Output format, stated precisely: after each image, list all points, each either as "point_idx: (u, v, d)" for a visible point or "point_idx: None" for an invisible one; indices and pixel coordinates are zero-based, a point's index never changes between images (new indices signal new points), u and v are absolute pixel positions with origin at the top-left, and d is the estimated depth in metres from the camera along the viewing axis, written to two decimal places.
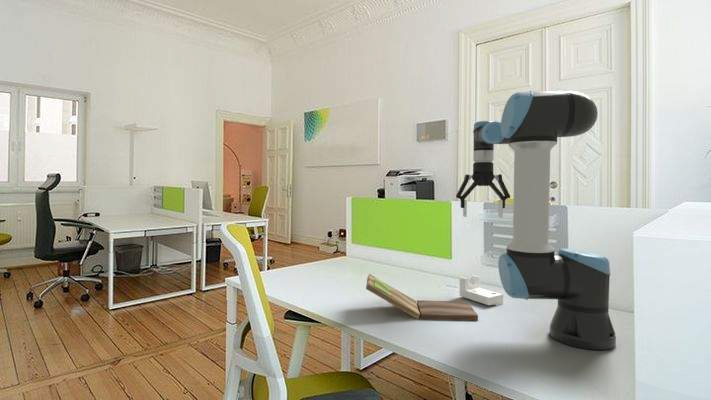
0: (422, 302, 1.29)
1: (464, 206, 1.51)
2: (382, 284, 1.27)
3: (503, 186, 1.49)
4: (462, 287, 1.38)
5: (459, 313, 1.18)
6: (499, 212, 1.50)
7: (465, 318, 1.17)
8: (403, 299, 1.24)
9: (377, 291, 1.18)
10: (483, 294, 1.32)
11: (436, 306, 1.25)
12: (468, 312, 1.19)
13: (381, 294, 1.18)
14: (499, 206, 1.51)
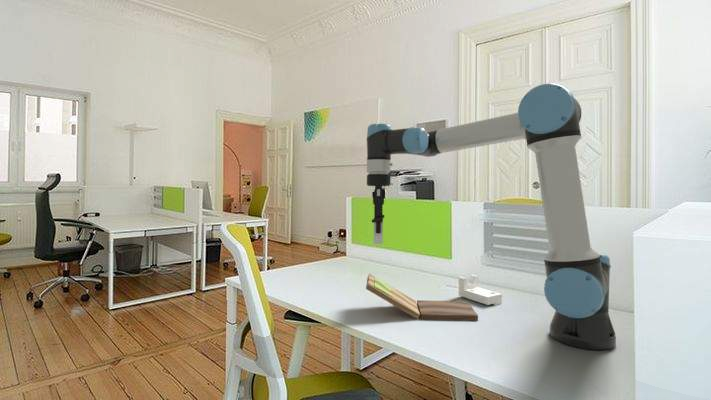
0: (422, 302, 1.29)
1: None
2: (382, 284, 1.27)
3: None
4: (461, 286, 1.39)
5: (459, 313, 1.18)
6: None
7: (465, 318, 1.17)
8: (403, 299, 1.24)
9: (377, 291, 1.18)
10: (482, 294, 1.32)
11: (436, 306, 1.25)
12: (468, 312, 1.19)
13: (381, 294, 1.18)
14: None
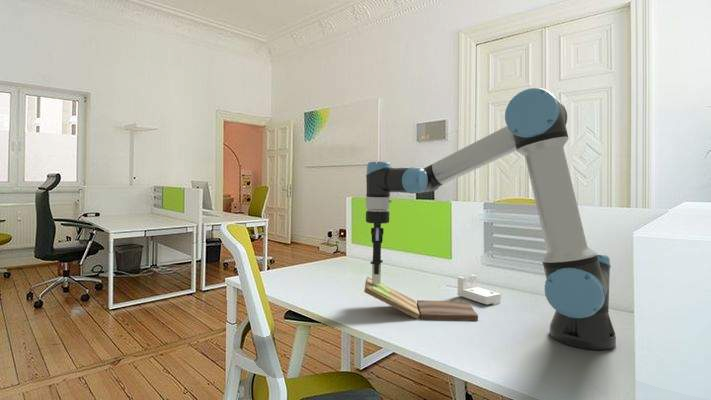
0: (422, 302, 1.29)
1: None
2: (381, 286, 1.27)
3: (373, 248, 1.20)
4: (460, 286, 1.39)
5: (459, 313, 1.18)
6: None
7: (465, 318, 1.17)
8: (402, 300, 1.24)
9: (375, 293, 1.18)
10: (480, 294, 1.33)
11: (436, 306, 1.25)
12: (468, 312, 1.19)
13: (380, 296, 1.18)
14: None
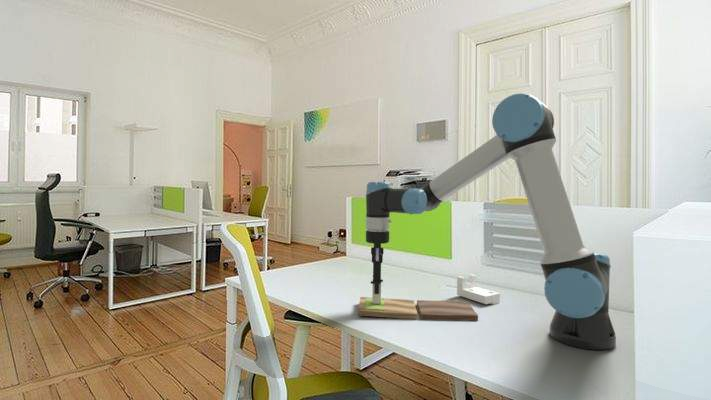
0: (422, 302, 1.29)
1: None
2: None
3: (373, 268, 1.21)
4: (459, 286, 1.40)
5: (459, 313, 1.18)
6: None
7: (465, 318, 1.17)
8: (399, 306, 1.24)
9: (369, 312, 1.18)
10: (480, 293, 1.33)
11: (436, 306, 1.25)
12: (468, 312, 1.19)
13: (374, 313, 1.18)
14: None
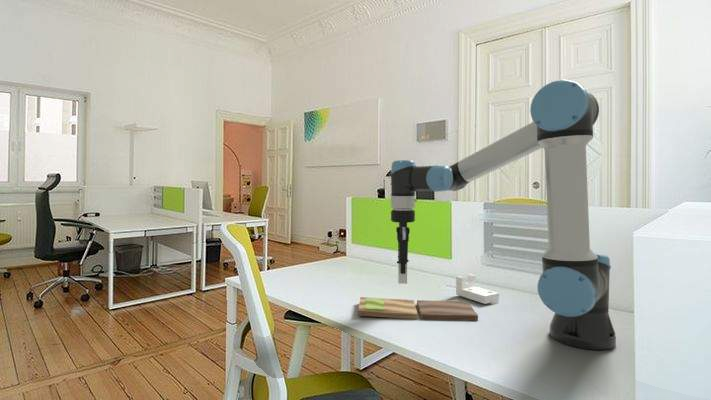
0: (422, 302, 1.29)
1: None
2: (374, 301, 1.27)
3: (399, 247, 1.20)
4: (458, 286, 1.40)
5: (459, 313, 1.18)
6: None
7: (465, 318, 1.17)
8: (399, 306, 1.24)
9: (369, 312, 1.18)
10: (479, 293, 1.33)
11: (436, 306, 1.25)
12: (468, 312, 1.19)
13: (374, 313, 1.18)
14: None
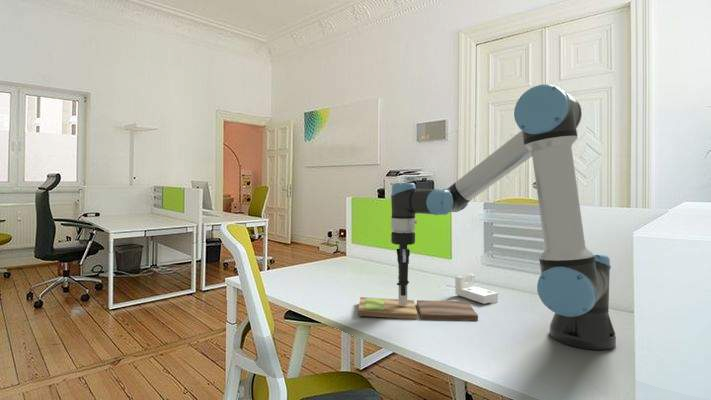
0: (422, 302, 1.29)
1: None
2: (374, 301, 1.27)
3: (400, 269, 1.20)
4: (458, 285, 1.40)
5: (459, 313, 1.18)
6: None
7: (465, 318, 1.17)
8: (399, 306, 1.24)
9: (369, 312, 1.18)
10: (478, 293, 1.34)
11: (436, 306, 1.25)
12: (468, 312, 1.19)
13: (374, 313, 1.18)
14: None
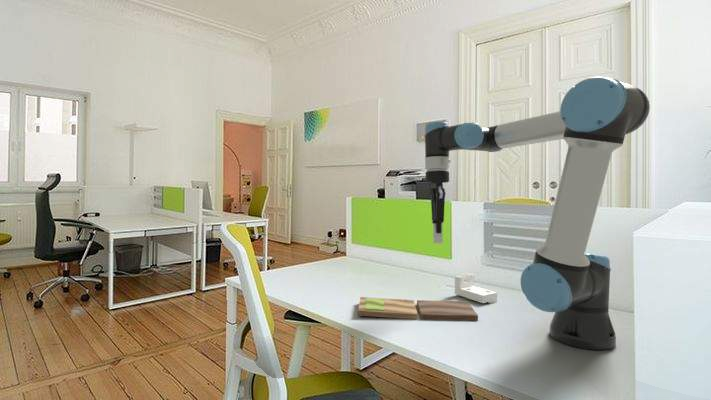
0: (422, 302, 1.29)
1: None
2: (374, 301, 1.27)
3: (436, 206, 1.22)
4: (457, 285, 1.41)
5: (459, 313, 1.18)
6: None
7: (465, 318, 1.17)
8: (399, 306, 1.24)
9: (369, 312, 1.18)
10: (477, 292, 1.34)
11: (436, 306, 1.25)
12: (468, 312, 1.19)
13: (374, 313, 1.18)
14: None
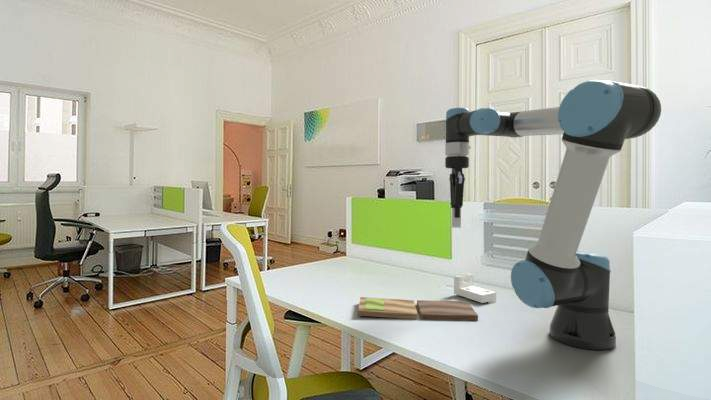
0: (422, 302, 1.29)
1: None
2: (374, 301, 1.27)
3: (455, 191, 1.25)
4: (456, 285, 1.41)
5: (459, 313, 1.18)
6: None
7: (465, 318, 1.17)
8: (399, 306, 1.24)
9: (369, 312, 1.18)
10: (476, 292, 1.34)
11: (436, 306, 1.25)
12: (468, 312, 1.19)
13: (374, 313, 1.18)
14: None
